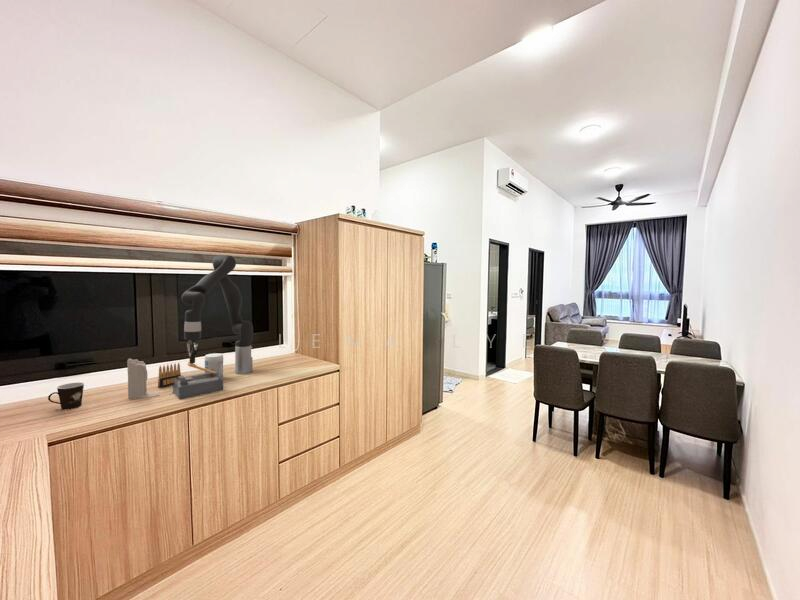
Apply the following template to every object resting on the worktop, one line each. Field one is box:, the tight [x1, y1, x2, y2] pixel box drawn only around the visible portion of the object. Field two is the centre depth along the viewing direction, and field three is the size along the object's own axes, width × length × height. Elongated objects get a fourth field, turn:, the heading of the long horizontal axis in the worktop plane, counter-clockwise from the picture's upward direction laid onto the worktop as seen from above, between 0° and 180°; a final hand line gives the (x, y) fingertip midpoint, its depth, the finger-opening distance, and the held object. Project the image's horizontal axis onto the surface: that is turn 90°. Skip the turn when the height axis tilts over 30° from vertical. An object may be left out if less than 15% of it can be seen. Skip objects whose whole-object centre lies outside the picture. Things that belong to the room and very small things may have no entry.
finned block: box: [172, 370, 224, 400], centre depth 173 cm, size 20×14×9 cm
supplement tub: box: [204, 352, 224, 379], centre depth 192 cm, size 10×10×15 cm
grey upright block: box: [126, 358, 163, 400], centre depth 164 cm, size 7×14×20 cm, turn 119°
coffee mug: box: [47, 381, 85, 411], centre depth 147 cm, size 12×9×10 cm
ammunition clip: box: [157, 362, 182, 389], centre depth 180 cm, size 11×2×12 cm, turn 145°
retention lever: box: [186, 361, 216, 374], centre depth 174 cm, size 14×4×2 cm, turn 136°
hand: (192, 362), depth 170 cm, fingers closed
